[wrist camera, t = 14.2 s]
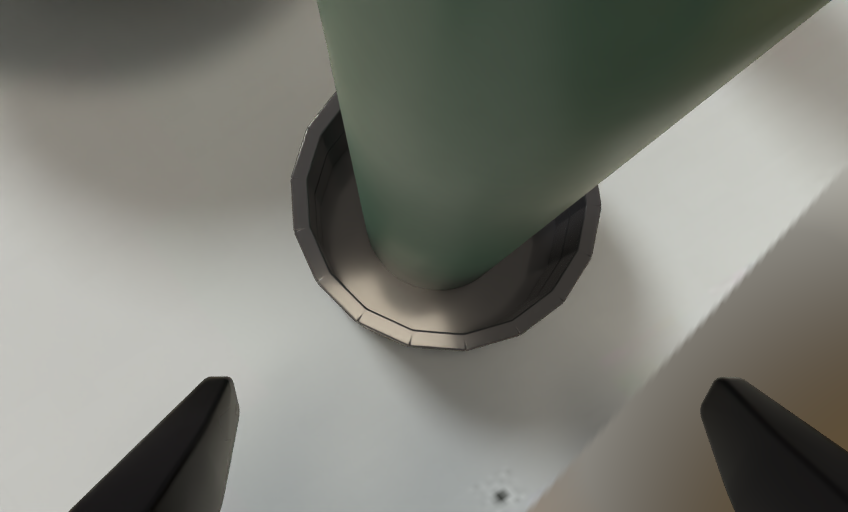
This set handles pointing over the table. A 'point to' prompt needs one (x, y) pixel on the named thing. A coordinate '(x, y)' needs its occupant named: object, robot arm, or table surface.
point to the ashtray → (413, 306)
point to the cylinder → (517, 108)
